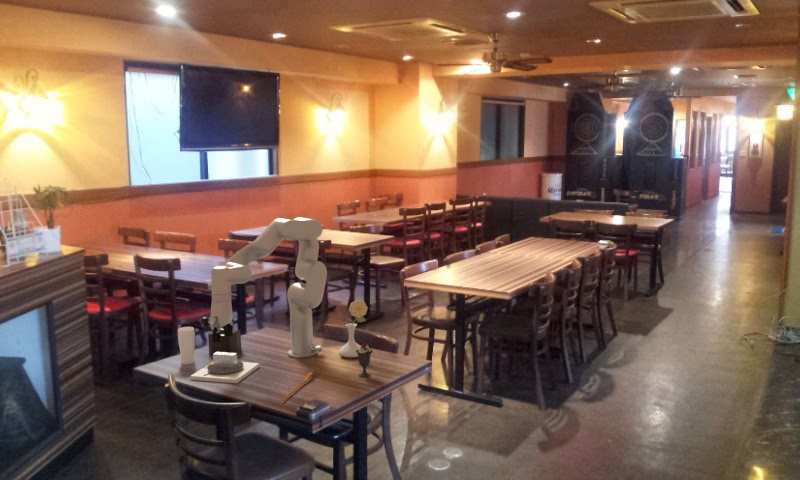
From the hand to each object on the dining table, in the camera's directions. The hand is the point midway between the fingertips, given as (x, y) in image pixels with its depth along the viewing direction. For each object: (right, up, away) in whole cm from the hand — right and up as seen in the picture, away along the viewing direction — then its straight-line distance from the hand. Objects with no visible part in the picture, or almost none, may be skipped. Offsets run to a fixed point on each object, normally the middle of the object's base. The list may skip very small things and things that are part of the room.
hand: (222, 339), depth 275 cm
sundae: (+57, -14, -2) cm, 59 cm away
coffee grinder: (-8, -11, +27) cm, 30 cm away
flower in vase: (+51, -11, +23) cm, 57 cm away
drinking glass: (-19, -13, +15) cm, 27 cm away
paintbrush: (+34, -17, -14) cm, 40 cm away
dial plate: (+1, -14, +2) cm, 14 cm away
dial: (+1, -12, +2) cm, 12 cm away
